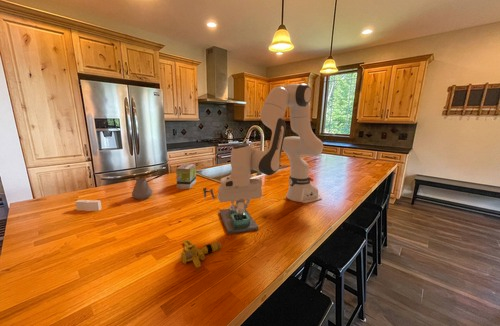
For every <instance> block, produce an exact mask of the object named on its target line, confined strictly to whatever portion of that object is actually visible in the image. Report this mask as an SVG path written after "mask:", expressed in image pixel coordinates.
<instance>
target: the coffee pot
mask: <svg viewBox="0 0 500 326" xmlns="http://www.w3.org/2000/svg"><path fill="white" fill-rule="evenodd" d="M165 175H167V176H169V173H168V172H167V171H166V172H164V173H162V174H159V175H156V176H154V177H153V178H150V179H148V180H147V176H145V175H140V176H136V177H135V178H134V179H135V184H134V187H133V188H132V192H131V196H132V198H135V199H136V200H141V201H142V200H146V199H148V198H150V197H151V196H152V194H153V190H152V188H151V186H150V184H149V182H151V181H153V180H156V179H158V178H161V177H162V176H165Z"/></svg>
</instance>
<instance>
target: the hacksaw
mask: <svg viewBox="0 0 500 326" xmlns="http://www.w3.org/2000/svg"><path fill="white" fill-rule="evenodd" d="M209 192H210V193H211V194H210V195H211V196H212V198H210V199H208V201H210V200H212V199H213V200H216V199H217V200H218V197H216V196H214V189H213V188H211V189H209V190H208V188H207V187H204V188H203V194H204V195H203V196H204V198H207V193H209Z"/></svg>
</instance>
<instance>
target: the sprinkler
mask: <svg viewBox="0 0 500 326" xmlns="http://www.w3.org/2000/svg"><path fill="white" fill-rule="evenodd" d="M182 243H183V245H184V248H183V249H184V251H181V254H180V258H179V259H180V260H181V262H182V263H183V265H186V264H187V262H191V261H192V262H193V264H194V267H195V268H199V267H201V261H200V260H202V261H203V260H205V258H206V256H205V255H207V254H211V253H213V252H216V251H218V250H219V249H221V243H220V242H213V243H208V244H206V245H204V246H203V247H201V248H199V247H198V246H196V244H194V243H192V242H191V241H190V240H189V239H187V240H184V241H182ZM188 244H189V245H188Z"/></svg>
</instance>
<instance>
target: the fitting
mask: <svg viewBox="0 0 500 326" xmlns="http://www.w3.org/2000/svg"><path fill="white" fill-rule="evenodd" d="M245 203H246V200H244V199H239V200H238V201H235V205H236V206H237V209H236V219H239V220H241V219H244V209H245Z"/></svg>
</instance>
